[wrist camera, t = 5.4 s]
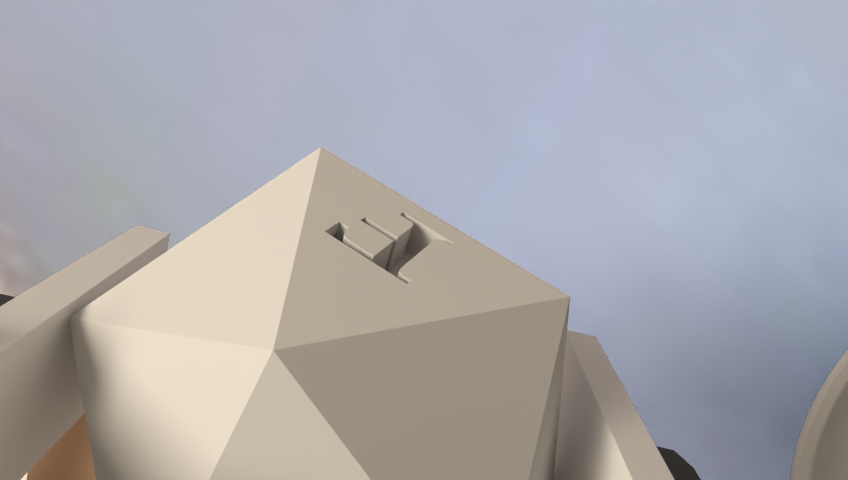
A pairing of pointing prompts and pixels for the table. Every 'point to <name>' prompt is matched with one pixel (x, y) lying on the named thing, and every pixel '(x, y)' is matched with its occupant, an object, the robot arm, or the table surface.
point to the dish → (825, 431)
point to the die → (324, 346)
